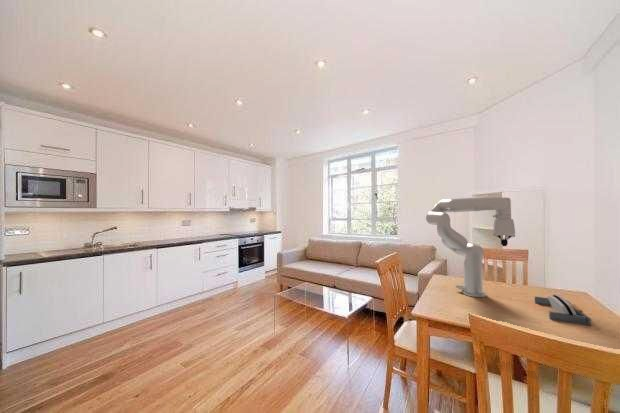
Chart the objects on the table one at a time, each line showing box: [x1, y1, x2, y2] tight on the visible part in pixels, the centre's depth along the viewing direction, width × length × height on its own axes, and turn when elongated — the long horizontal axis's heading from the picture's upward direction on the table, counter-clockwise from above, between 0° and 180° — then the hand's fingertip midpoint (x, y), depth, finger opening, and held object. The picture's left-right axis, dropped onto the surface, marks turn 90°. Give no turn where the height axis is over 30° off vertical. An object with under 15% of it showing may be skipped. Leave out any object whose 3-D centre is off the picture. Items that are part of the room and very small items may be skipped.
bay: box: [534, 296, 592, 327], centre depth 117 cm, size 13×23×4 cm, turn 150°
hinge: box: [546, 294, 577, 315], centre depth 115 cm, size 17×5×10 cm, turn 154°
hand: (504, 245), depth 147 cm, fingers closed
